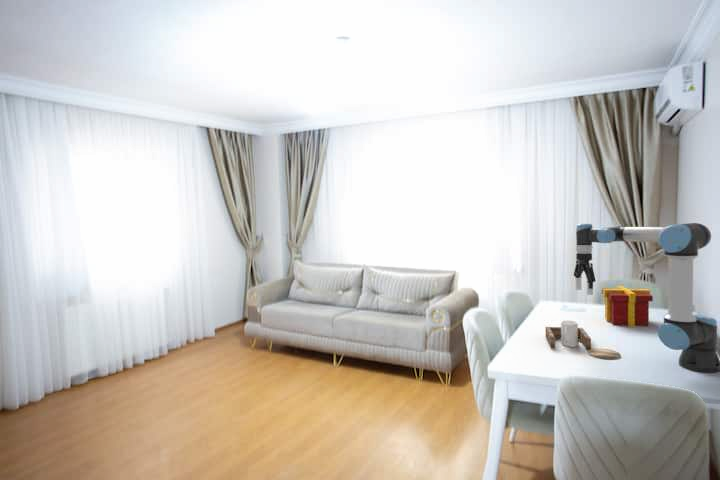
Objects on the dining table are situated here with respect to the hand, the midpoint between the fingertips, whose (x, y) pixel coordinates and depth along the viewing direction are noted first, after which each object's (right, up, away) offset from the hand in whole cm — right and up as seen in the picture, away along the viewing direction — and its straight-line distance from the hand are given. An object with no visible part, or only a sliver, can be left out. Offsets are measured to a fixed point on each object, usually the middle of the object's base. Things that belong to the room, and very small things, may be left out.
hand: (584, 292), depth 237 cm
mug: (-9, -28, -2) cm, 30 cm away
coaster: (0, -29, -18) cm, 34 cm away
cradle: (-9, -28, +1) cm, 29 cm away
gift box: (+46, -23, +38) cm, 64 cm away
